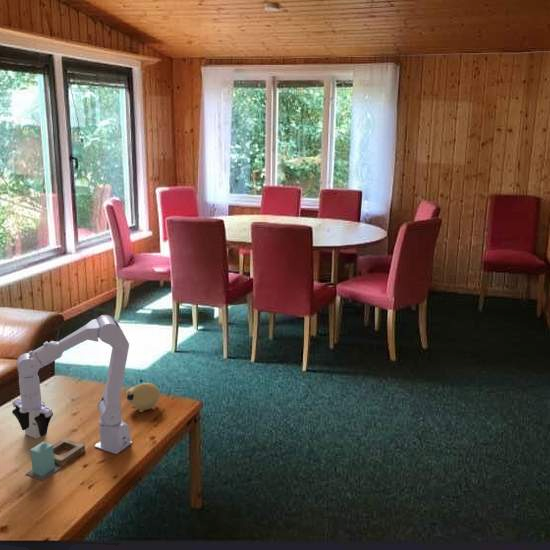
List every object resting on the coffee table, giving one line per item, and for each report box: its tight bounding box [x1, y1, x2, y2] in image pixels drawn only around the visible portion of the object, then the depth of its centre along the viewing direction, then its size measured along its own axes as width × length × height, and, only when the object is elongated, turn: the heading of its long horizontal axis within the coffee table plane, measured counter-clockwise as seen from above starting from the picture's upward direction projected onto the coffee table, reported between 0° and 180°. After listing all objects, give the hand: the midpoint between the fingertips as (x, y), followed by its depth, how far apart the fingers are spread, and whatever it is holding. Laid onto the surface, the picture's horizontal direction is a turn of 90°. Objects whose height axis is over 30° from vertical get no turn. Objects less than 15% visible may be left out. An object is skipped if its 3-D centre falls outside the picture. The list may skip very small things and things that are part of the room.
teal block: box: [30, 441, 56, 476], centre depth 180 cm, size 4×5×8 cm
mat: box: [25, 465, 61, 482], centre depth 181 cm, size 7×7×1 cm
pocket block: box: [52, 437, 86, 468], centre depth 189 cm, size 9×10×2 cm
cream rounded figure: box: [125, 382, 161, 413], centre depth 218 cm, size 10×12×11 cm
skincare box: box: [24, 400, 46, 440], centre depth 200 cm, size 6×4×12 cm
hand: (34, 431), depth 184 cm, fingers open, 7 cm apart
